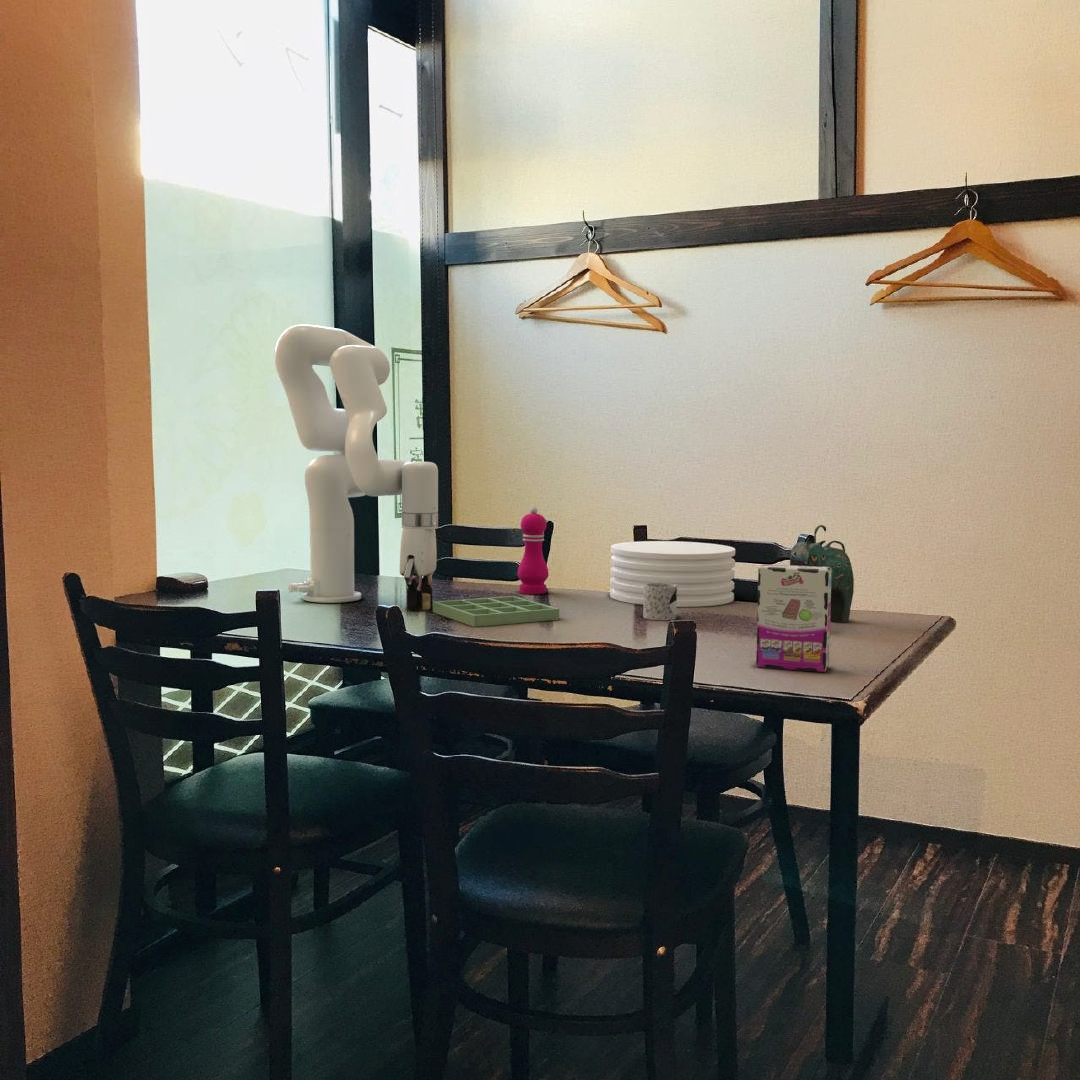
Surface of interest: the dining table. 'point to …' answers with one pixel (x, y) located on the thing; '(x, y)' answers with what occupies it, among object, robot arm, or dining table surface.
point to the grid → (495, 611)
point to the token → (425, 601)
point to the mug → (660, 601)
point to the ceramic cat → (840, 575)
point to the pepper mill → (533, 555)
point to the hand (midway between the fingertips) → (419, 606)
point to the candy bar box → (793, 617)
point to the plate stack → (673, 571)
